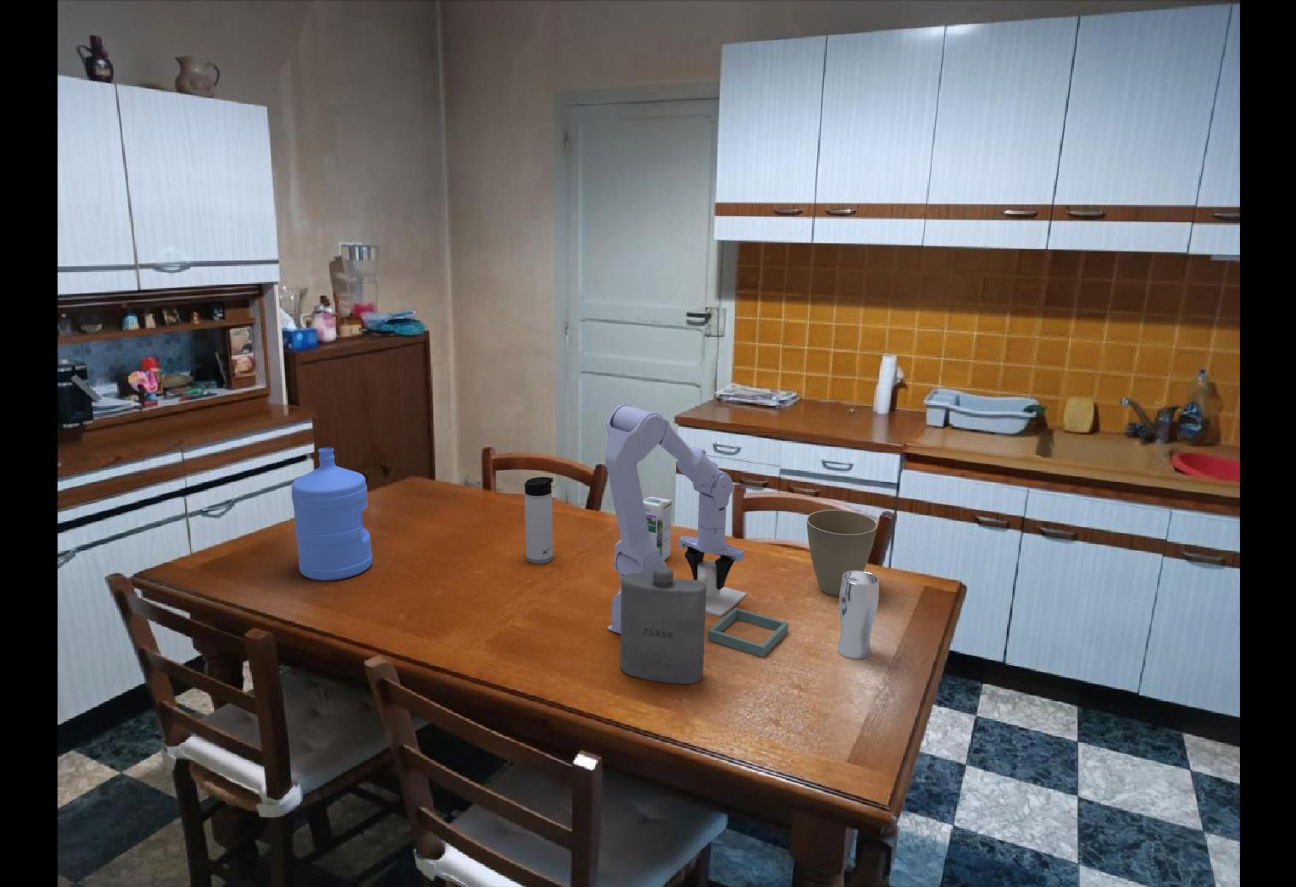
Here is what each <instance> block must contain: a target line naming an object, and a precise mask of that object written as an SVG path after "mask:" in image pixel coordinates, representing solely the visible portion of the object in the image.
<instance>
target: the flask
mask: <svg viewBox="0 0 1296 887" xmlns="http://www.w3.org/2000/svg"><path fill="white" fill-rule="evenodd" d="M620 588H621V634H620V655H619V656H620V666H619V668H620V670H621V672H623V673H624V674H626V675H629V676H631V677H634V678H637V679H640V680H641V679H642V680H646V681H651V682H657V683H663V684H664V683H665V684H676V685H693V684H697V683H699V682H700V681H702V680H703V678H704V660H705V659H704V656H705V636H706V635H705V634H706V613H705V612H706V585H705V584H704V583H702V582H700V581H697V580H694V579H688V578H687V579H685V578H684V579H683V578H680V579H678V578H674V570H673V569H671V568H670V567H668V566H667V567H658V568H656V569H654V570H653V576H651V575H646V574H641V573H631V574H627V575H625V576H623V577H622V579H621V580H620Z"/></svg>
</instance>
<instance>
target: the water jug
mask: <svg viewBox="0 0 1296 887" xmlns="http://www.w3.org/2000/svg"><path fill="white" fill-rule="evenodd" d="M334 451H335V449H334V448H333V447H322V448H319V449H318V451H317V452H318V453H319V456H318V460H319V467H318V468H316V469H314V470H312V471H309V472H307V473H305V474H304V475H302V476H300V477H297V478H296V479H294V481H292V483H291V501H292V505H293V514H294V515H293V516H294V523H295V524H294V525H295V526H294V532H295V537H296V543H297V552H298V554H297V555H298V568H299V569H298V570H299V572H300V574H302V575H303V576H304V577H306V578H308V579H312V580H315V581H337V580H344V579H348V578H351V577H353V576H357V575H359V574H362V573H364V572H365V571H366V570H368V569H369V568H370V567H371V566H372V564H373V551H372V544H371V535H370V532H369V531H368V530H367V529H366V528H365V527H364V523H363V522H364V521H363V511H365V510H366V509H367V508H368V486H367V483H366V481H367V480H366V477H365V476H364V474H362V473H360V472H359V471H358V472H357V471H353V470H350V469H347V468H344V467H341V466H337V465H336V463H335V455H334Z"/></svg>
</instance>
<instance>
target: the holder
mask: <svg viewBox="0 0 1296 887" xmlns="http://www.w3.org/2000/svg"><path fill="white" fill-rule="evenodd" d="M736 620H738V621H741V622H745V623H748V624H751V625H755V626H758V627H762V628H765V629H768V630H772V631H774V632H772V634H771V635H770V636H769V637H767V639H766V640H765V641H764V642H763V643H762V644H761V643H757V642H754V641H751V640H746V639H745V638H744V639H743V638H741V637H737V636H734V635H730V634H727V633H724V631H725V630H726V629H727V628H728V627H730V626H731V624H732V623H734V621H735V622H736ZM788 632H789V622H786V621H782V620H780V619H776V618H772V617H769V616H766V615H763V614H759V613H756V612H751V611H748V610H745V609H741V608H738V607H733V608H732V610H729V611H728V612H727V614H725V615H723V616H722V618H721V619H719V621H717V622H716V623H715V624H714V625H712V627H710V628H709V629H708V630H707V641H709V642H712V643H715V644H718V645H722V646H725V647H729V648H732V649H735V650H738V651H741V652H744V653H747V654H750V655H754V656H757V657H760V658H764V657H765V656H767V655H768V653H769V652H770V651H771V650H772V649H773V648H774V647H775V646H776V645H777V644H778V643H779V642H780V641H781V640H782V639H783V638H784V637H785V635H787V634H788Z"/></svg>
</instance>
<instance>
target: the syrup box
mask: <svg viewBox="0 0 1296 887" xmlns="http://www.w3.org/2000/svg"><path fill="white" fill-rule="evenodd" d="M643 503H644V509H645V514H646V519H647V525H648V530H649V536H650V538H651V540H652V541H653V542H654V544H655V545H656V546H657V548H658V549H659V551H660V555H661V558H662V559H663V560H664V561H665V560H667V559H668V558H669V557H670V556H671V536H672V535H671V534H672V531H671V530H672V507H673V506H672V503H673V501H672V499H667V498H661V497H655V496H649V497H646V498H645V499H643Z"/></svg>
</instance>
